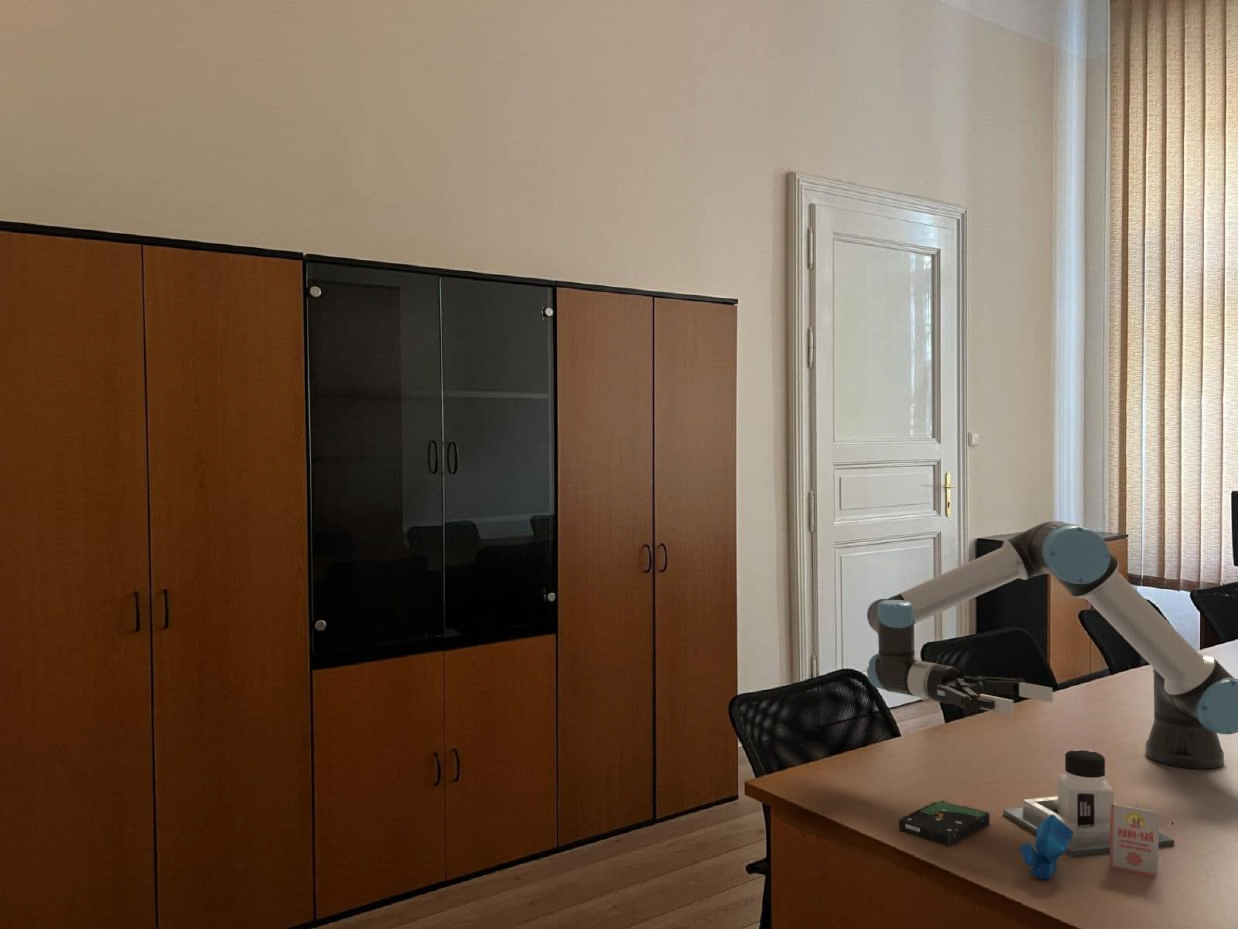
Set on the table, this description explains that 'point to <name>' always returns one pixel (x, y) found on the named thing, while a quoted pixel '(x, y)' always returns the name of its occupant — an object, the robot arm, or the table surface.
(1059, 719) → the table surface
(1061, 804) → the container
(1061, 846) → the blue lump
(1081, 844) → the collar plate
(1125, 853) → the tea bag
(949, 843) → the disk drive
